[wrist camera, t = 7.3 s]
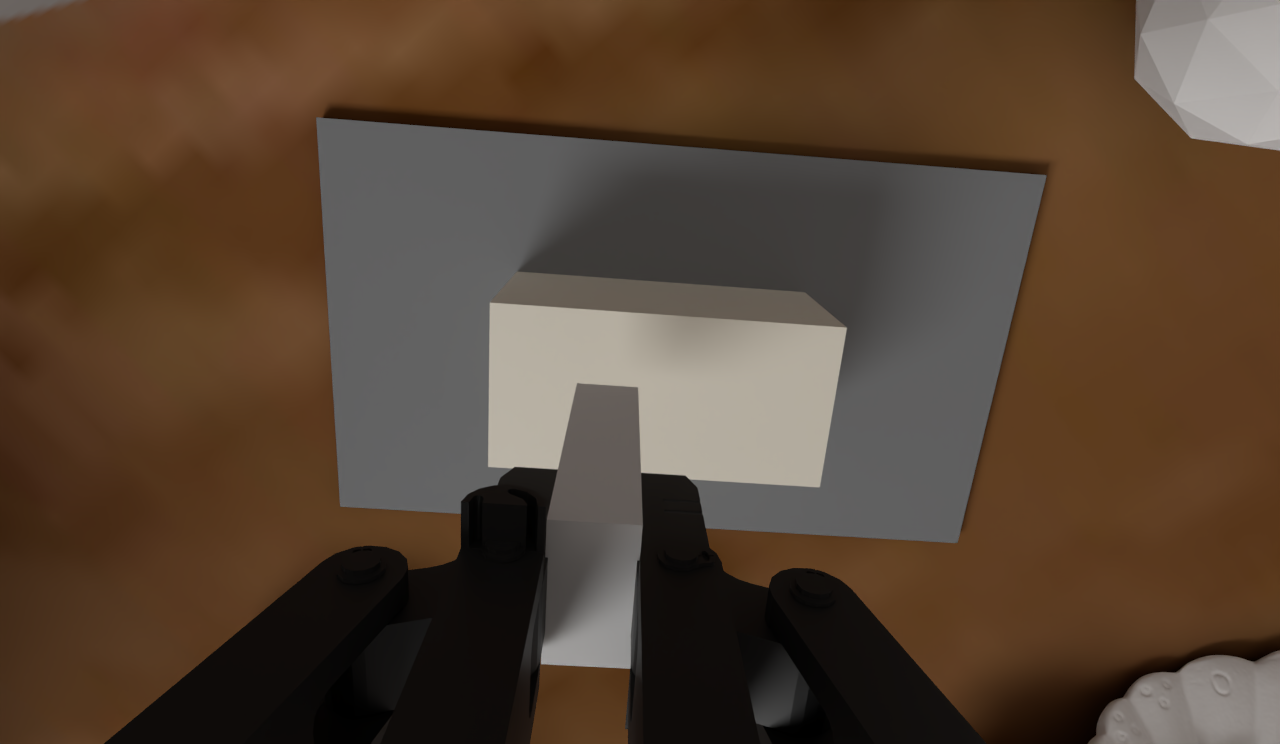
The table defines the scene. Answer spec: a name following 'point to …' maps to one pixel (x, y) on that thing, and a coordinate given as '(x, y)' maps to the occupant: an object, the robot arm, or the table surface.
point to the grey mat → (678, 253)
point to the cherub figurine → (1199, 705)
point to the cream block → (667, 373)
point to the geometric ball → (1213, 67)
